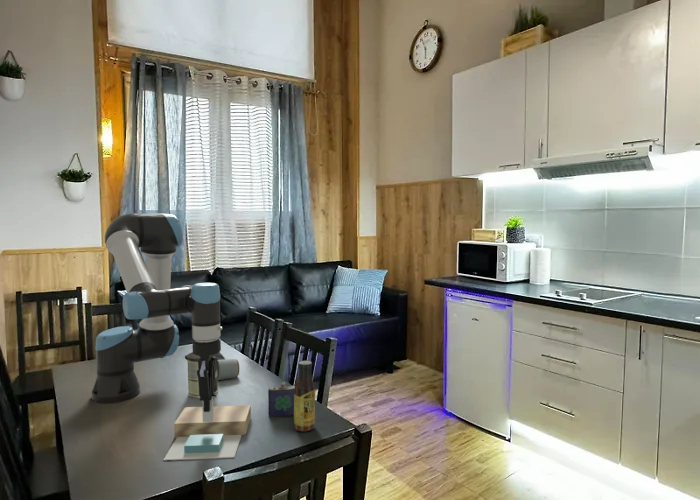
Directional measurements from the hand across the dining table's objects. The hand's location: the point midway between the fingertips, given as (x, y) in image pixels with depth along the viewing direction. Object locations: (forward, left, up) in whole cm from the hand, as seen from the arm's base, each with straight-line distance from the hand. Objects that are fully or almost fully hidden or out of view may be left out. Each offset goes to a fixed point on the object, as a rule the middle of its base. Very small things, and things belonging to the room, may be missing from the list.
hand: (208, 420), depth 125 cm
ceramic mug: (-5, +50, -6) cm, 51 cm away
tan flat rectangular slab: (0, +8, -5) cm, 9 cm away
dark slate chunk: (-18, +73, -6) cm, 75 cm away
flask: (+20, +14, -6) cm, 25 cm away
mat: (0, -4, -5) cm, 7 cm away
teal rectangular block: (0, -5, -3) cm, 6 cm away
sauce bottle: (+27, +5, -6) cm, 28 cm away
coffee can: (-10, +35, -6) cm, 37 cm away
